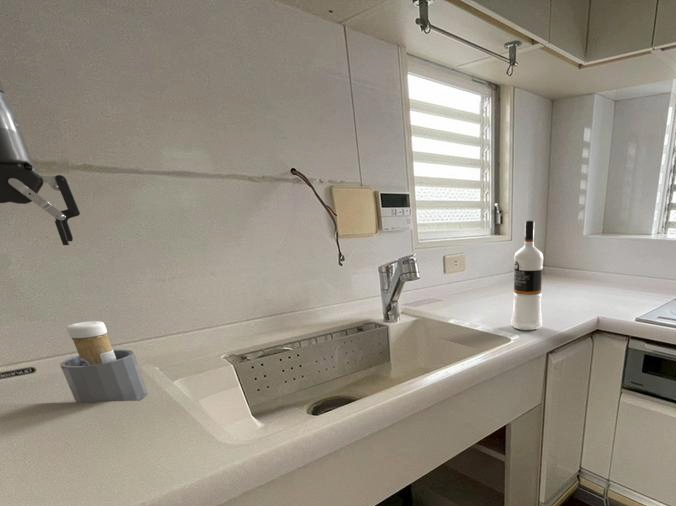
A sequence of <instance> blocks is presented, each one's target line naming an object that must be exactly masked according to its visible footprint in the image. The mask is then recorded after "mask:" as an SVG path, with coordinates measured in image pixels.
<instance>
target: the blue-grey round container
mask: <svg viewBox="0 0 676 506" xmlns="http://www.w3.org/2000/svg"><path fill="white" fill-rule="evenodd" d="M113 351H114V354H115V357H116V359H117V360H114V361H110V362H106V363H101V364H95V365H86V366H83V365H82V363H81V360H80V356H79V355H77V356H76V355H75V356H72V357H69V358H67V359H65V360H63V361H62V362H60V363H59V365H60V366H59V367H60V369H61V371H62V373H63V375H64V377H65V380H66V382H67V384H68V388H69V389H70V392H71V394H72V396H73V399H74V401H75V403H80V404H95V403H105V402H110V403H111V402H139V401H141V400H143V399H144V398H145V397H147V395H148V389H147V387H146V384H145V381H144V377H143V375H142V372H141V369H140V366H139V363H138V360H137V358H136V354H135V353H134V352H133V350H130V349H113Z"/></svg>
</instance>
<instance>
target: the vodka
mask: <svg viewBox="0 0 676 506" xmlns="http://www.w3.org/2000/svg"><path fill="white" fill-rule="evenodd" d="M513 263H514V265H513V268H514V270H513V273H514V274H513V293H512V295H513V305H512V307H513V309H512V316H511V319H510V324H511V326H512V328H514V329H516V330H520V331H533V330H534V331H535V330H538V329H539V328H541V327H542V325H543V319H542V296H543V293H542V281H543V279H542V278H543V269H544V266H543V265H544V255H543V253H542V251H541V250H540V249H539V248H537V247H536V246H535V221H534V220H525V221H524V245H523V246H521V248H519V249H518V250H517V251H515V253H514V256H513Z"/></svg>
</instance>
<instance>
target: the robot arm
mask: <svg viewBox="0 0 676 506" xmlns="http://www.w3.org/2000/svg"><path fill="white" fill-rule="evenodd" d="M44 184H47V185H49V186H50V187H51V189H53V190H55V191H57V192H60V194H61V196H62V199H63V202H64V204H65V206H66V208H67V209H64V210H59V209H58V208H57V207H56V206H54V205H53V204H52V203H50V202H49V201H48V200H46V199H45V198H43V197H42V196H40V194H38V193H39V192H40V190H41V189H42V187H43V186H44ZM32 202H33V203H34V204H35V205H37V206H38V207H40V208H41V209H42V210H44V211H45V212H47V214H49V215H51V216H52V217H53V218H54V223H55V226H56V230H57V232H58V235H59V238H60V240H61V244H62V246H70V243H69V242H73V239H74V237H73V235H72V231H71V229H70V225H69V222H68V220H69V219H73V218H75V217H79V216H80V214H81V212H80V209H79V207H78V204H77V201H76V200H75V197H74V195H73V193H72V190H71V187H70V185H69V182H68V180H67V178H66V177H65V176H64V175H61V174H57V175H40V174H39V173H38V172H37V171H36V170H35V166H34V164H33V161H32V158H31V155H30V152H29V150H28V147H27V144H26V141H25V138H24V136H23V134H22V129H21V127H20V123H19V122H18V119H17V117H16V114H15V111H14V109H13V107H12V105H11V104H10V101H9V99H8V98H7V95H6V92H5V90H4V86H3V84H2V81H1V80H0V204H7V203H14V204H18V205H21V204H22V205H27V204H30V203H32Z"/></svg>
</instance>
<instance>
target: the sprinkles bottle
mask: <svg viewBox="0 0 676 506" xmlns="http://www.w3.org/2000/svg"><path fill="white" fill-rule="evenodd" d="M66 330H67V333H68V336H69V338H71V340H72V341H73V344H74V347H75V348H76V351H77V354H78V356H80V360H81V363H82V365H83V366H86V365H95V364H101V363H106V362H110V361H114V360H117V359H116V357H115V354H114V351H113V350H114V349H113V347H112V345H111V342H110V339H109V337H108V330H107V326H106V324H105V322H103V321H101V320H100V321H99V320H91V321H81V322H76V323H72V324H69V325H67V326H66Z"/></svg>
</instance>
